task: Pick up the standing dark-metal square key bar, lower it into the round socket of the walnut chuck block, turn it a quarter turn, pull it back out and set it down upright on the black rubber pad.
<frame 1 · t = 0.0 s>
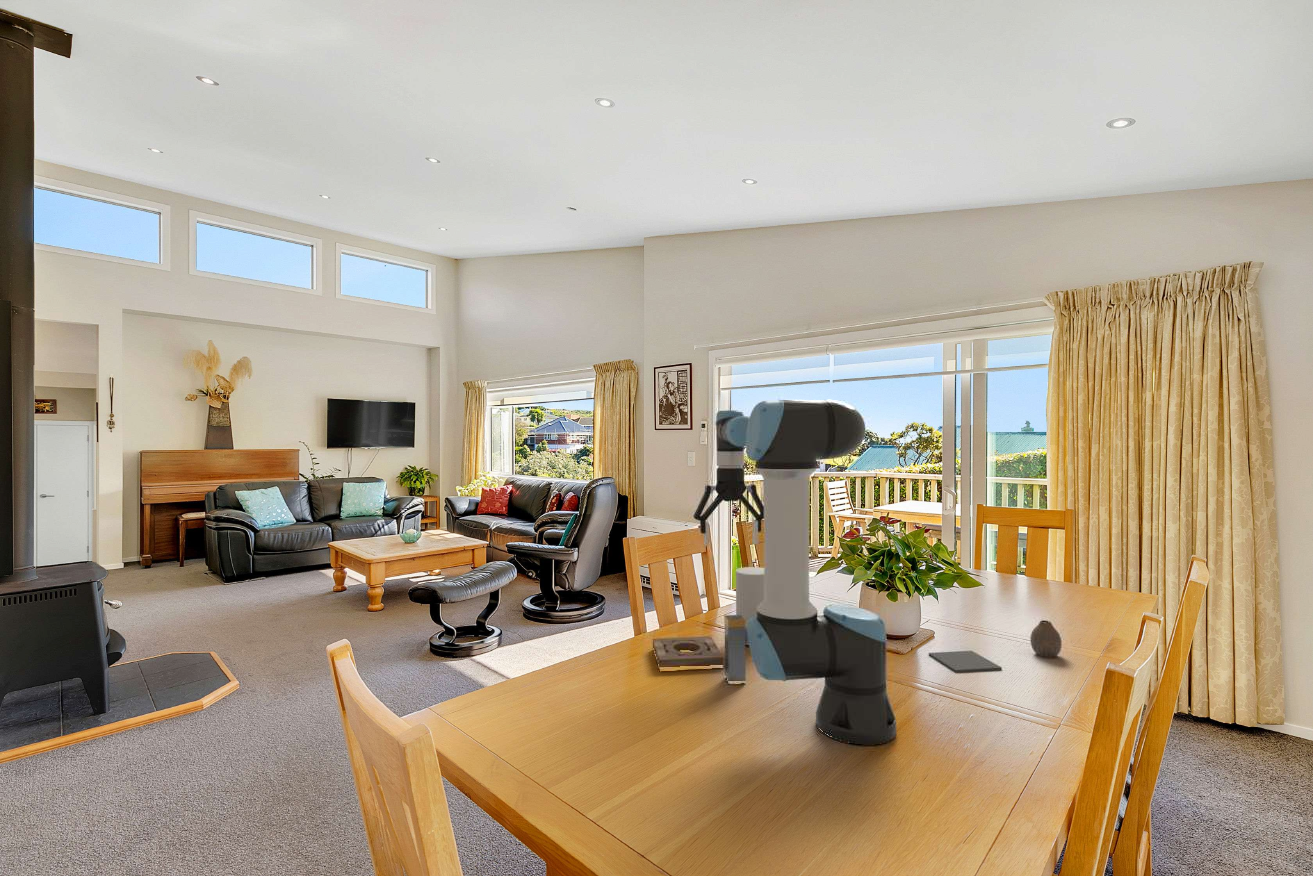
hand: (731, 544, 171), 28 cm above the table, fingers open, 13 cm apart
key peg: (735, 681, 147), on the table
container: (754, 642, 176), on the table
vase: (1045, 655, 163), on the table
chuck block: (686, 658, 162), on the table
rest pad: (963, 662, 158), on the table
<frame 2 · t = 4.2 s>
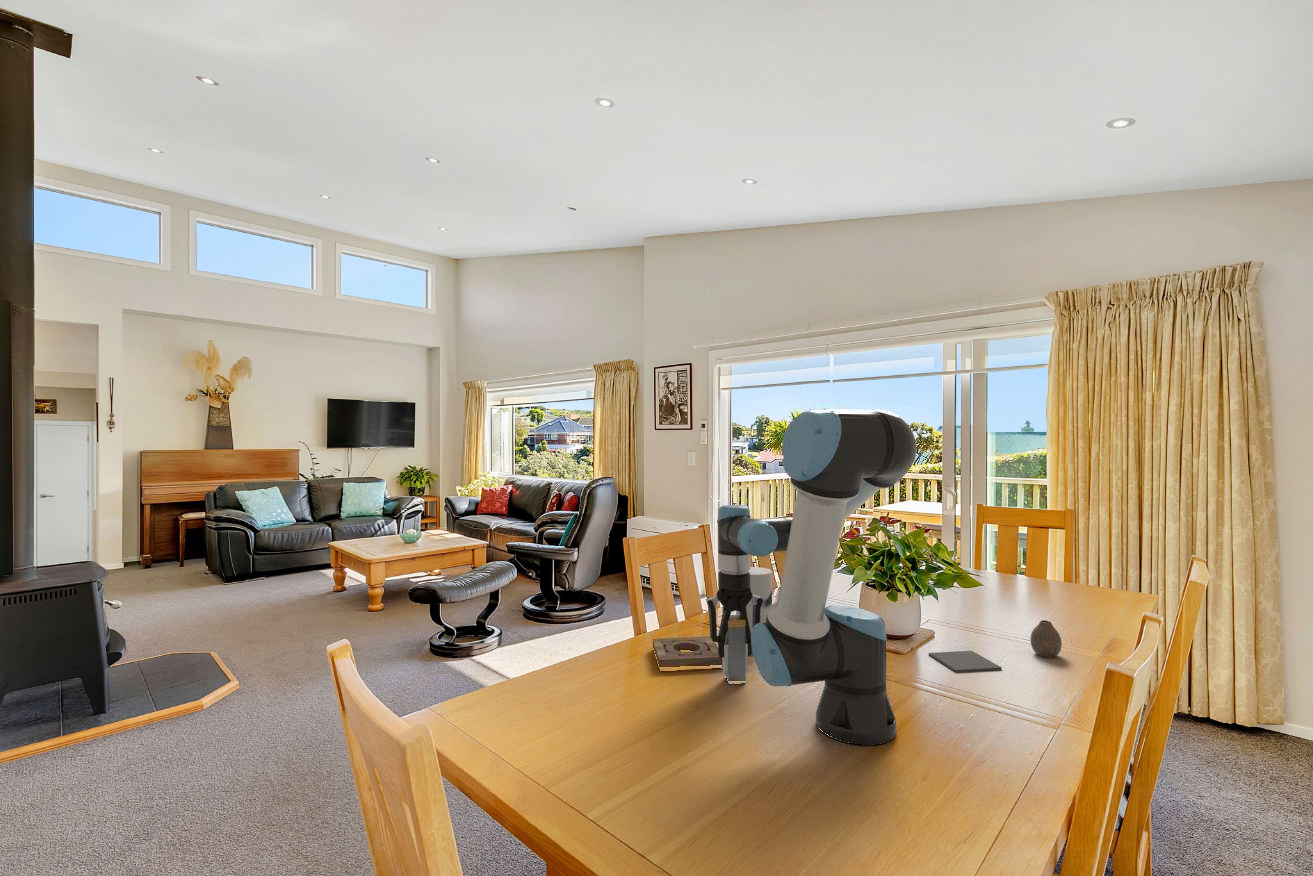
hand: (735, 669, 147), 3 cm above the table, fingers closed on key peg, 4 cm apart
key peg: (735, 681, 148), on the table, touching gripper
everything else where it was.
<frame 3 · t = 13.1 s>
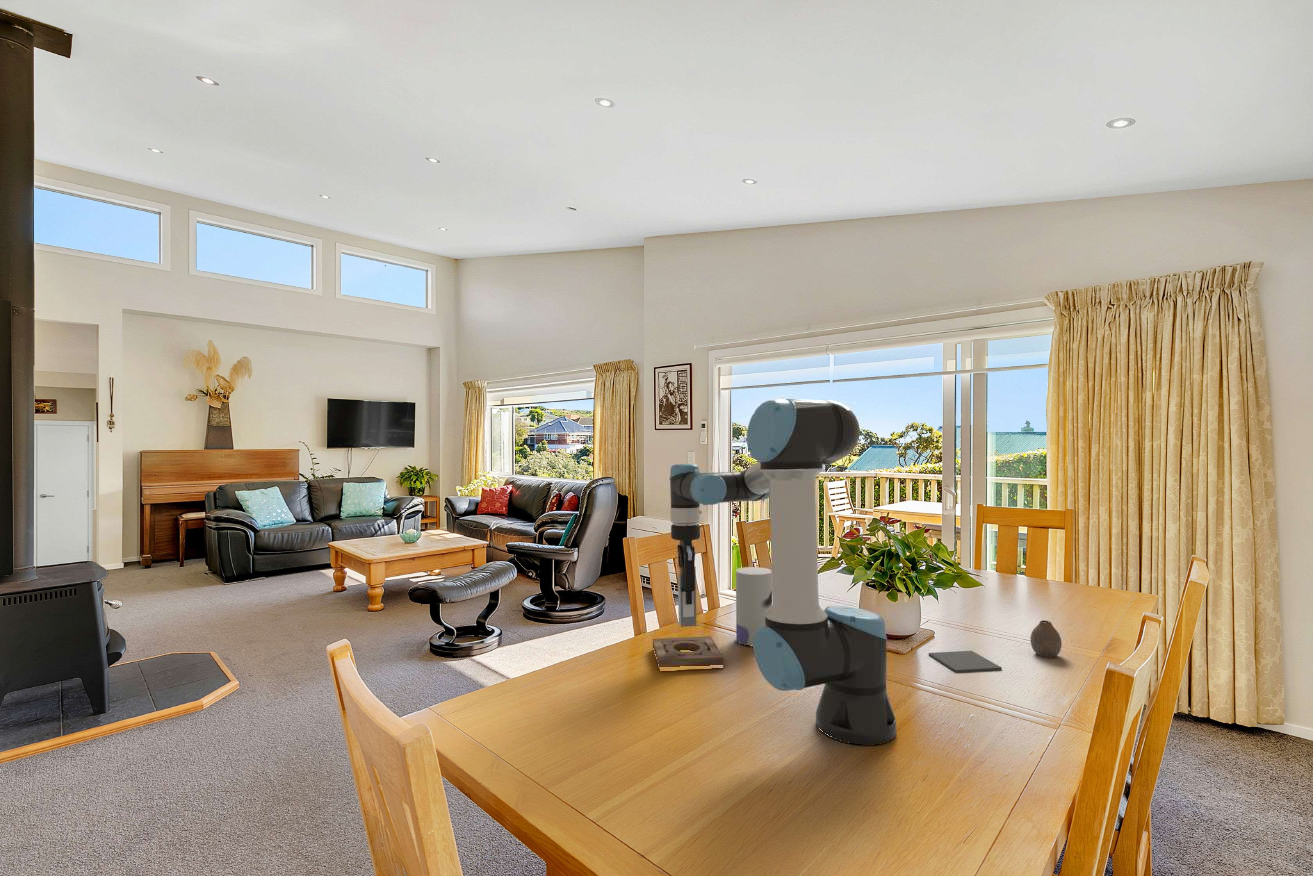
hand: (687, 613, 162), 12 cm above the table, fingers closed on key peg, 4 cm apart
key peg: (687, 624, 162), point 9 cm above the table, touching gripper
everything else where it was.
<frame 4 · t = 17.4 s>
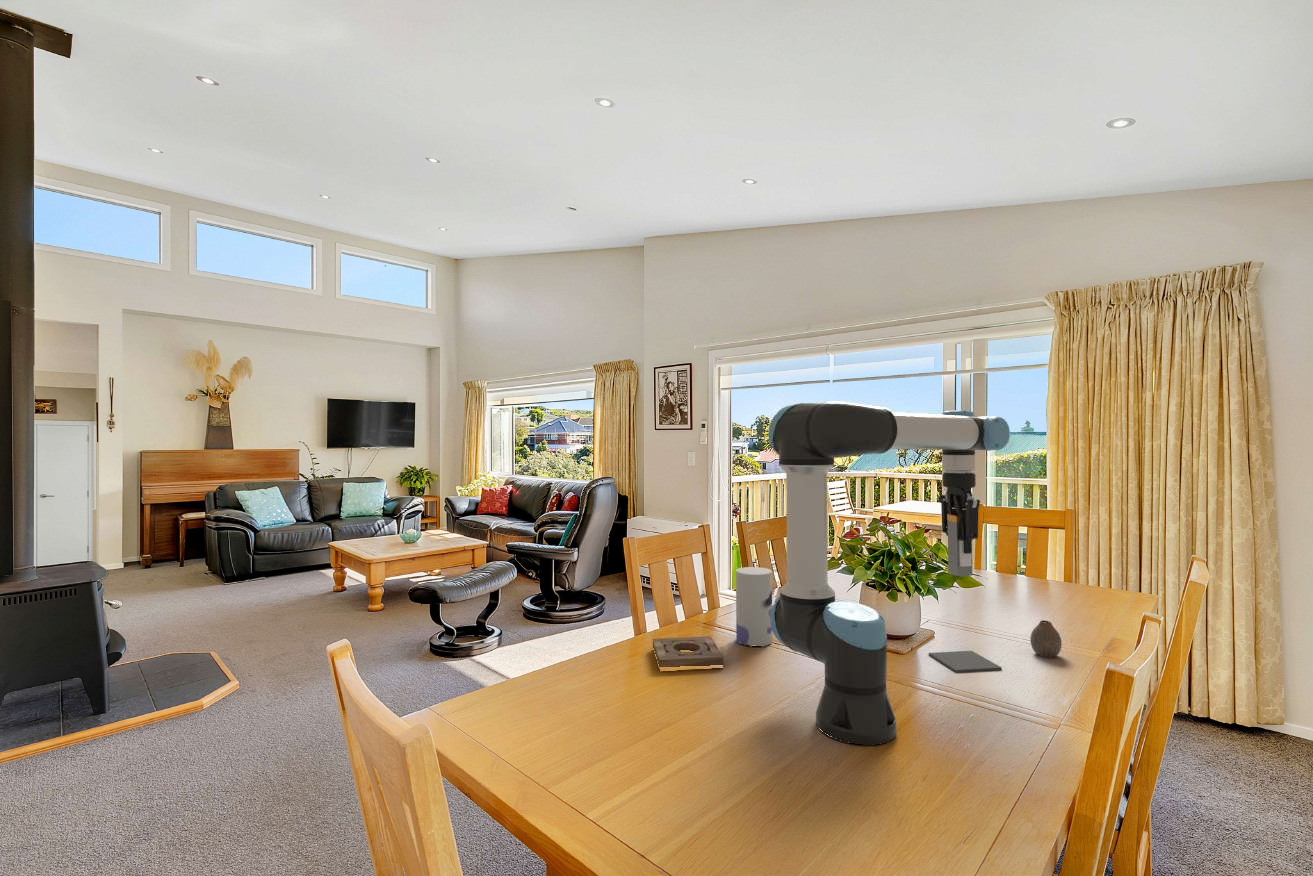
hand: (959, 563, 158), 25 cm above the table, fingers closed on key peg, 4 cm apart
key peg: (960, 574, 158), point 22 cm above the table, touching gripper
everything else where it was.
when the fingers open (4 cm above the table, at t = 21.8 s): key peg stays where it is, resting on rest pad.
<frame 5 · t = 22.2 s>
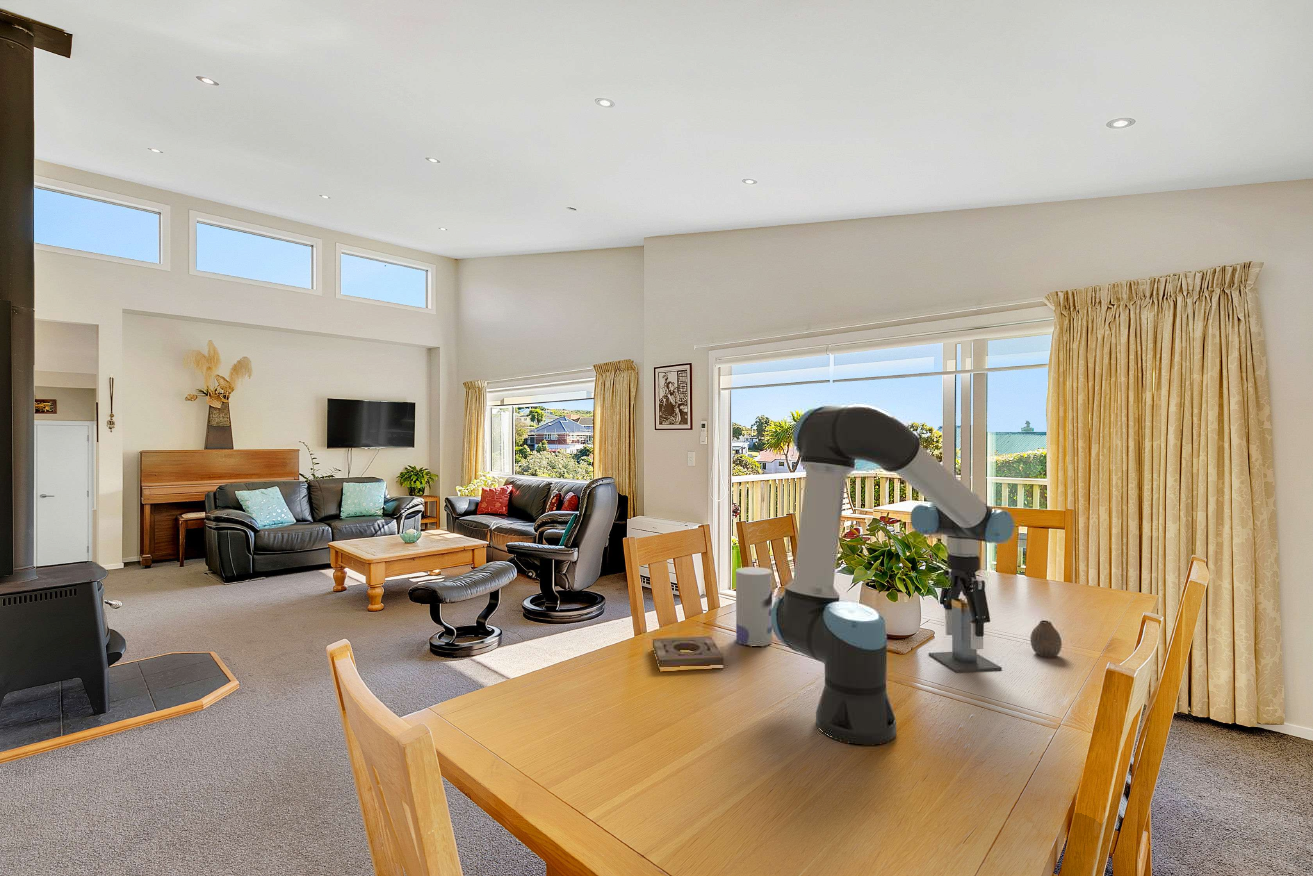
hand: (963, 641, 158), 5 cm above the table, fingers open, 10 cm apart
key peg: (964, 659, 158), point 1 cm above the table, touching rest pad
everything else where it was.
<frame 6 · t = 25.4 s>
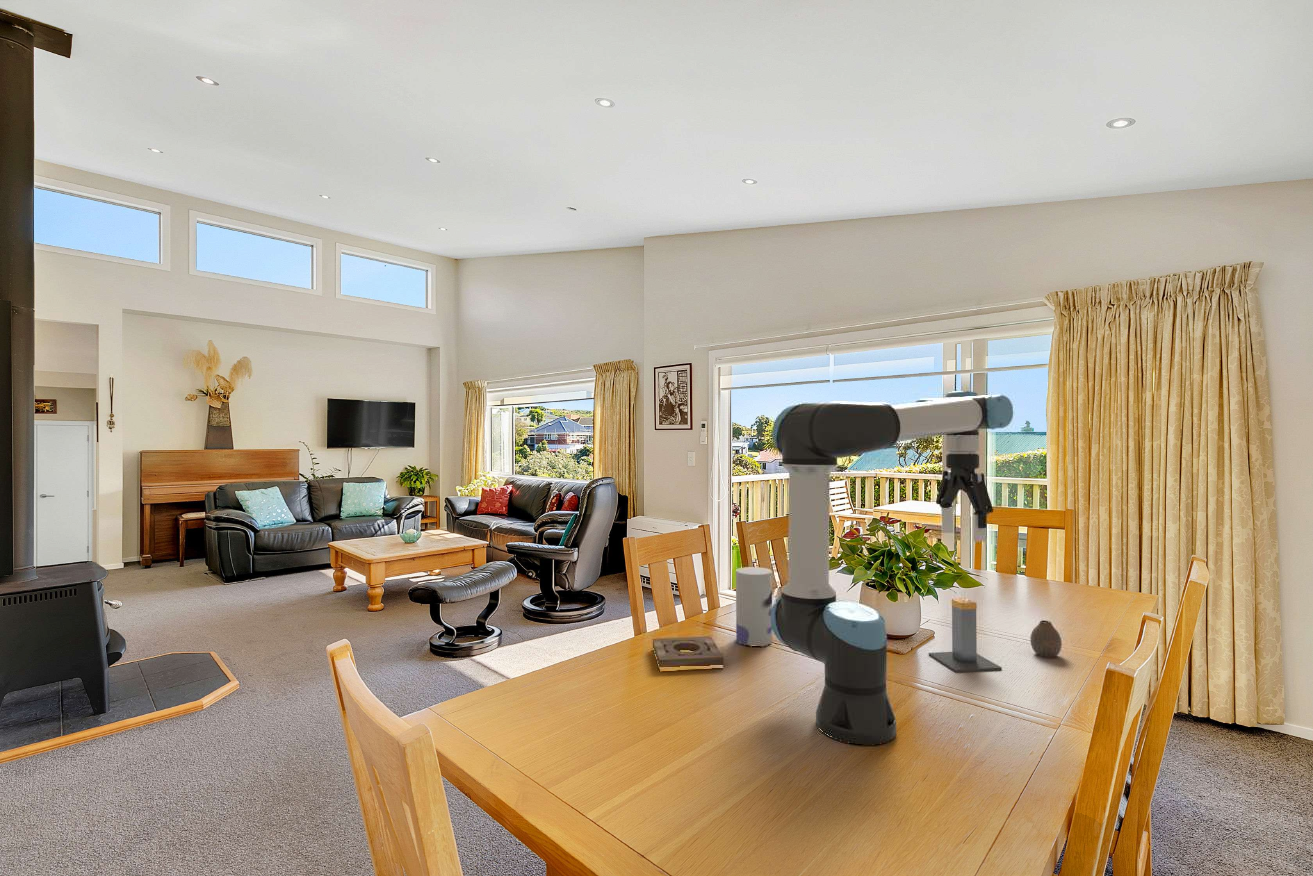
hand: (963, 537, 158), 32 cm above the table, fingers open, 13 cm apart
nothing on the table moved.
at the end: key peg inside the target area on the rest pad (0.1 cm from its centre), point 0.6 cm above the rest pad's base; key peg tilted 0°; the gripper is holding nothing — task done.
